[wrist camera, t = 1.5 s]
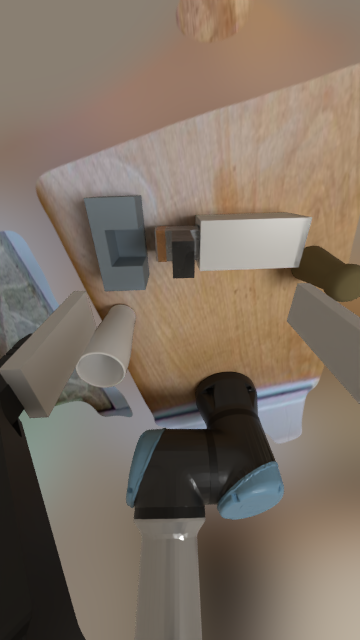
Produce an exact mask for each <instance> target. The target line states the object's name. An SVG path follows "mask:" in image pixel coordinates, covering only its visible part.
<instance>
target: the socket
mask: <svg viewBox="0 0 360 640" xmlns="http://www.w3.org/2000/svg"><path fill="white" fill-rule="evenodd" d="M84 202H85V206H86V211H87V215H88V219H89V224H90V228H91V232H92V237H93V241H94V245H95V250H96V254H97V259H98V263H99V267H100V272H101V276H102V280H103V285H104V289H105V291H126V290H145V289H146V286H147V282H148V278H149V266H148V257H147V247H146V238H145V228H144V219H143V209H142V200H141V196H109V197H92V198H84Z"/></svg>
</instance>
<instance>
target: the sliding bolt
mask: <svg viewBox="0 0 360 640" xmlns="http://www.w3.org/2000/svg"><path fill="white" fill-rule="evenodd" d="M154 234H155V246H156V258H157V261H158V262H167V261H173V278H194V264H195V260H199V254H200V226H199V225H195V226H157V227H156V228H155V231H154Z"/></svg>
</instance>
